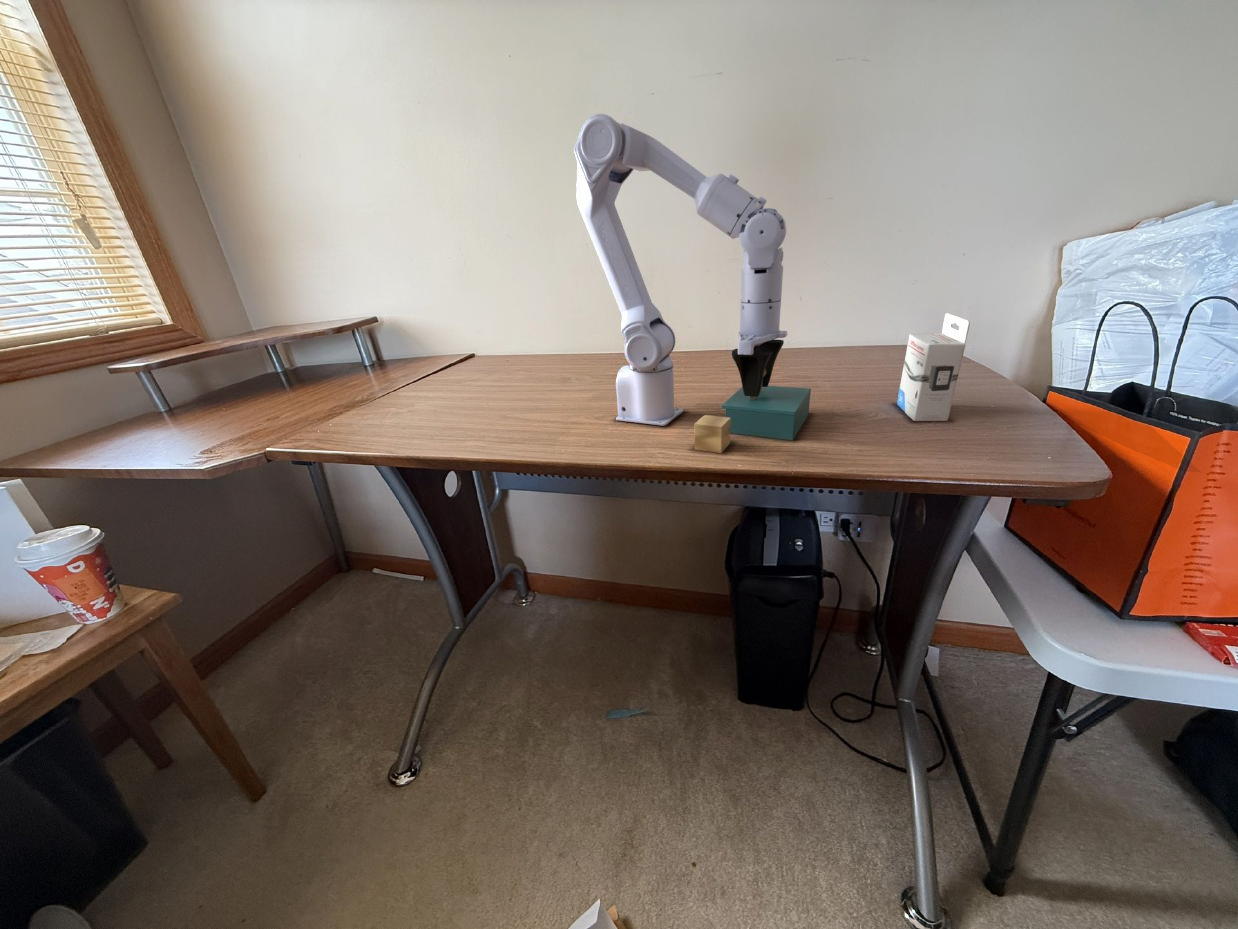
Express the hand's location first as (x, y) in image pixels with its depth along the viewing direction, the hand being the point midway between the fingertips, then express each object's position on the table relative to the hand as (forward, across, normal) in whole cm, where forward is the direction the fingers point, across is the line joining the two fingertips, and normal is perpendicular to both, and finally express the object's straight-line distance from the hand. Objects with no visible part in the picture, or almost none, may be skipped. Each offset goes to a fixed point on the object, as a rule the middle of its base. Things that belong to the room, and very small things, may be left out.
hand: (756, 390), depth 76 cm
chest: (+5, 0, -2) cm, 6 cm away
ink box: (+5, +12, -23) cm, 27 cm away
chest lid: (+1, 0, -2) cm, 2 cm away
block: (+5, -12, +3) cm, 13 cm away
